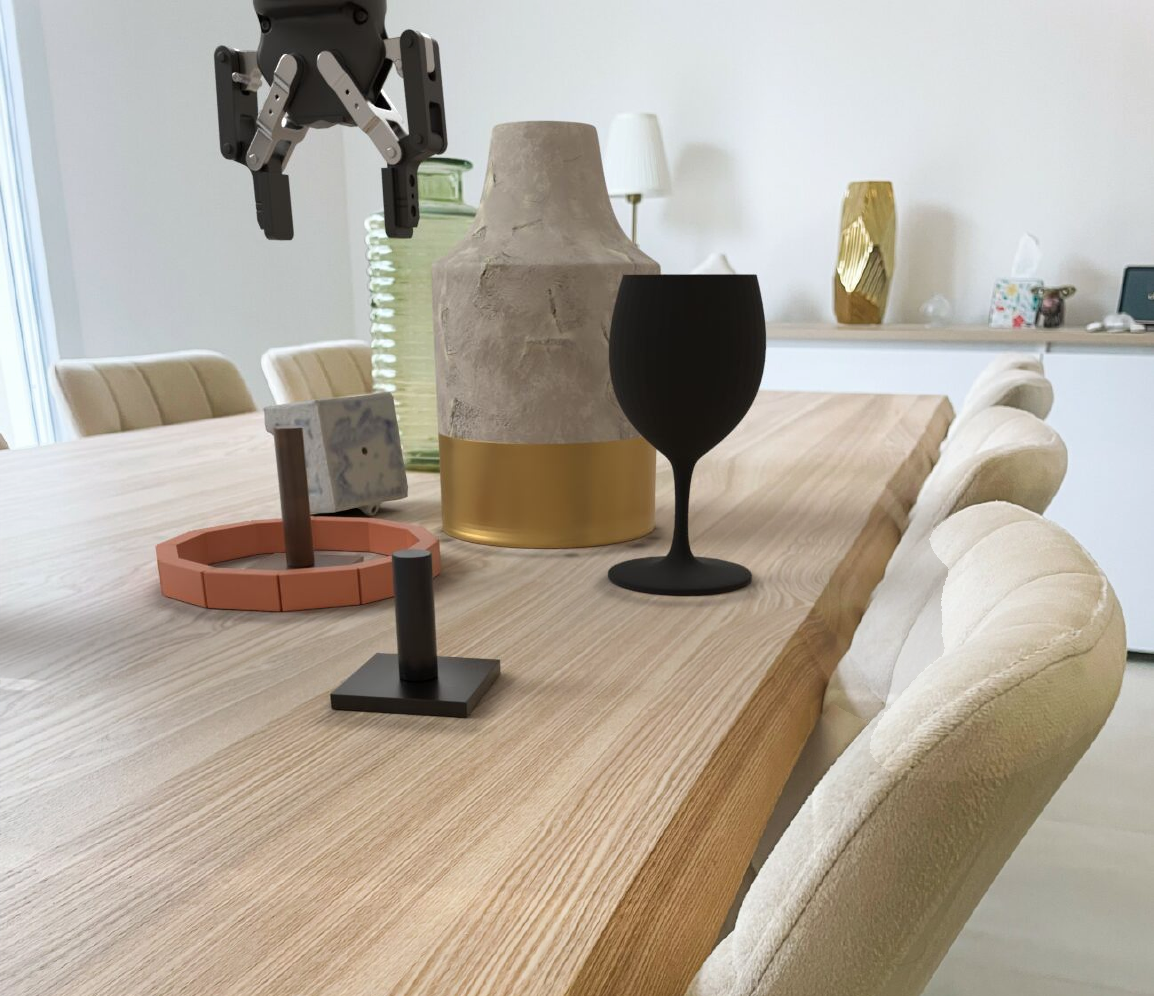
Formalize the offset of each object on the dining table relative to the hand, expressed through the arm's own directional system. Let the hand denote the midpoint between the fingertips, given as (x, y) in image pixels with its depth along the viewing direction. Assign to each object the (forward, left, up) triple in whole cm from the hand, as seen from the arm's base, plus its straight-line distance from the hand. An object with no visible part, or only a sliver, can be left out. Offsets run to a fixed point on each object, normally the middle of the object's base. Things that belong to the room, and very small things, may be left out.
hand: (338, 239), depth 71 cm
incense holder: (-12, +28, -22) cm, 37 cm away
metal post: (+10, -19, -22) cm, 31 cm away
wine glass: (+21, +8, -22) cm, 31 cm away
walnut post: (-6, +4, -22) cm, 23 cm away
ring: (-6, +4, -22) cm, 23 cm away
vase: (+8, +25, -22) cm, 34 cm away
